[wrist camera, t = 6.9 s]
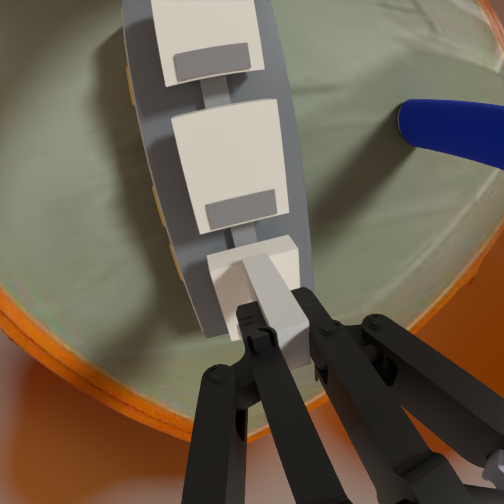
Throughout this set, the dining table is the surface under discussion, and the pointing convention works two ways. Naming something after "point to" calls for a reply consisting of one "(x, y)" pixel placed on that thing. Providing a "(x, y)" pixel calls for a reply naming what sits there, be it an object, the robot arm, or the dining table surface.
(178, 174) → the switch console
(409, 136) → the beverage can
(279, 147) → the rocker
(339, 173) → the dining table surface
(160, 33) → the plate
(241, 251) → the rocker
